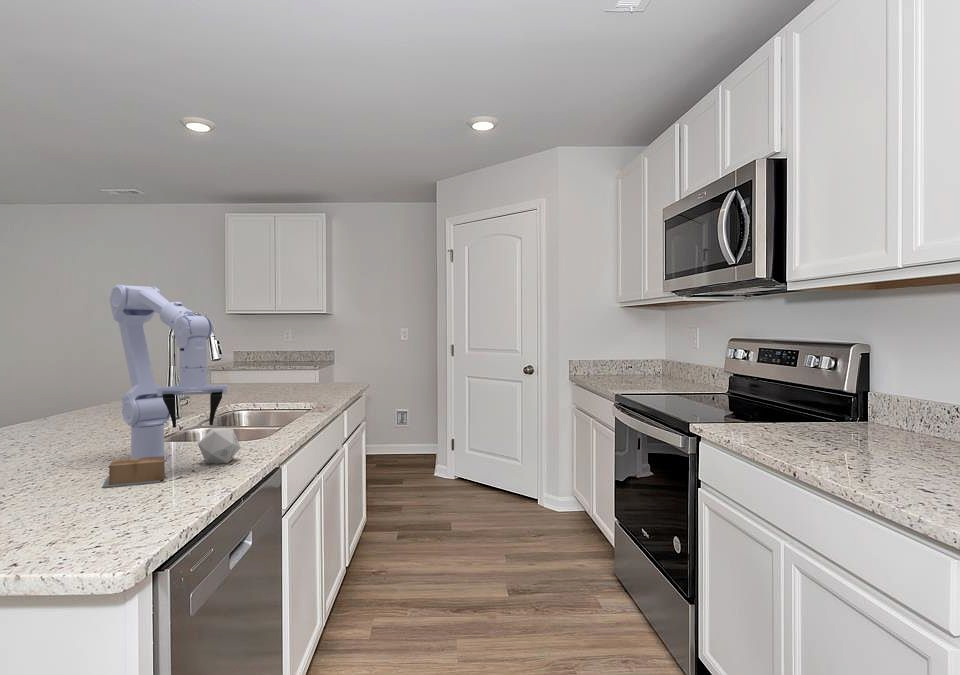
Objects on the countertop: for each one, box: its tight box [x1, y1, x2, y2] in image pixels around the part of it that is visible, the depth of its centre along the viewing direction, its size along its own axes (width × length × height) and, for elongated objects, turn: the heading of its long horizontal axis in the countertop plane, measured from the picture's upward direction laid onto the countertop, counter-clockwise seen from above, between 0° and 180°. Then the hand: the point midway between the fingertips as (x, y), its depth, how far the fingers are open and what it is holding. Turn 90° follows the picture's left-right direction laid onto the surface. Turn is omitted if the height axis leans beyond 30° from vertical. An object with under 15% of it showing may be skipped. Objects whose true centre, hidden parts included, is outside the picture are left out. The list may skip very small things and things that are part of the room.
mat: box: [101, 476, 162, 489], centre depth 128 cm, size 9×11×1 cm
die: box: [197, 428, 241, 464], centre depth 146 cm, size 8×9×10 cm
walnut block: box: [108, 456, 165, 485], centre depth 128 cm, size 6×4×10 cm
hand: (193, 425), depth 137 cm, fingers open, 7 cm apart
